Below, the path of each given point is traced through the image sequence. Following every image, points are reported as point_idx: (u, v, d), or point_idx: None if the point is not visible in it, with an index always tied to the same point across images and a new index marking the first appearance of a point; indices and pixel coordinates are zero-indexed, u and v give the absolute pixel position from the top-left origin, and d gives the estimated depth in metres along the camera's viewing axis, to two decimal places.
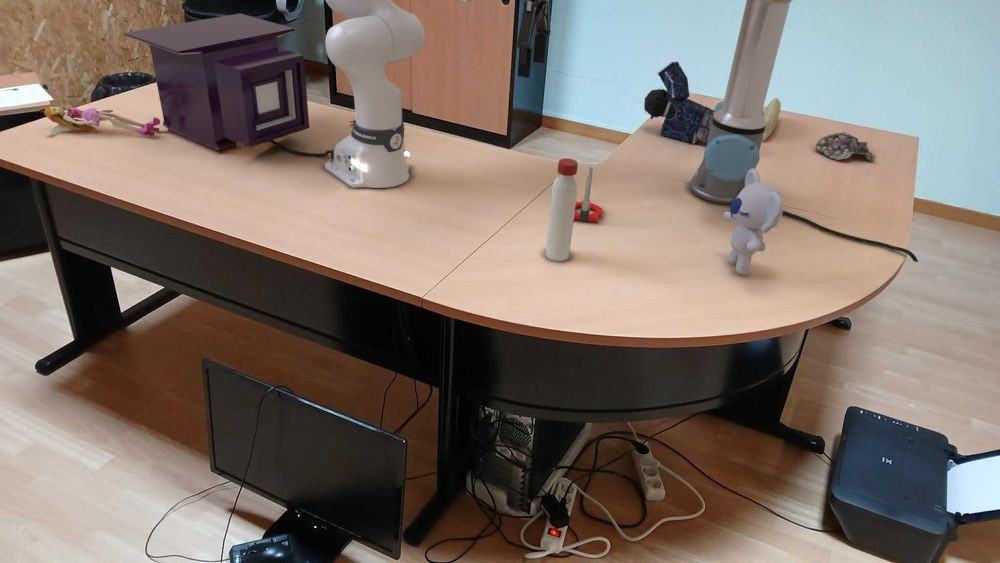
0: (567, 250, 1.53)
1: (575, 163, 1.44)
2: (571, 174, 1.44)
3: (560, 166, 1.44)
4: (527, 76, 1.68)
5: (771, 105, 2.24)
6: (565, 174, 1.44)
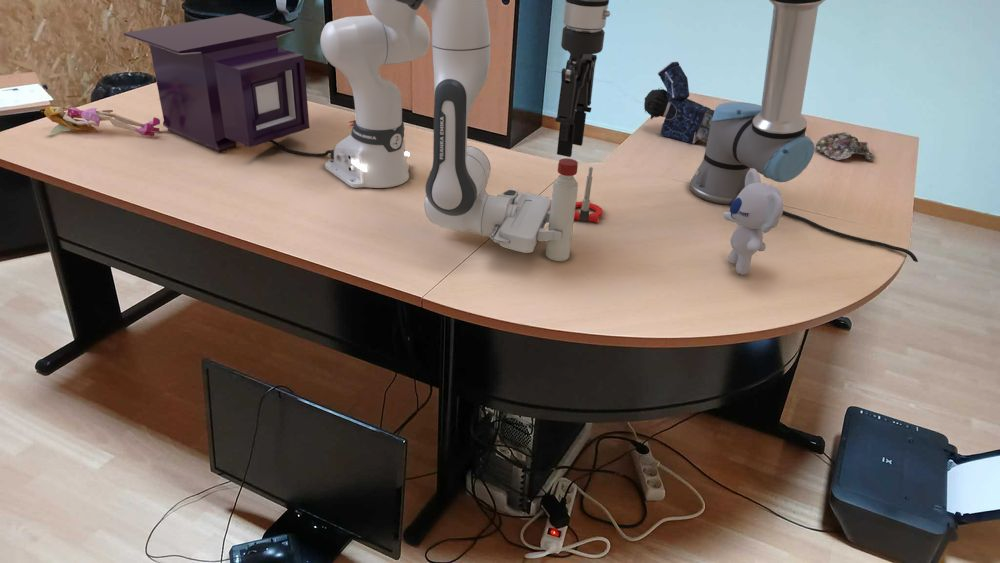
0: (567, 250, 1.53)
1: (575, 163, 1.44)
2: (571, 174, 1.44)
3: (560, 166, 1.44)
4: None
5: None
6: (565, 174, 1.44)
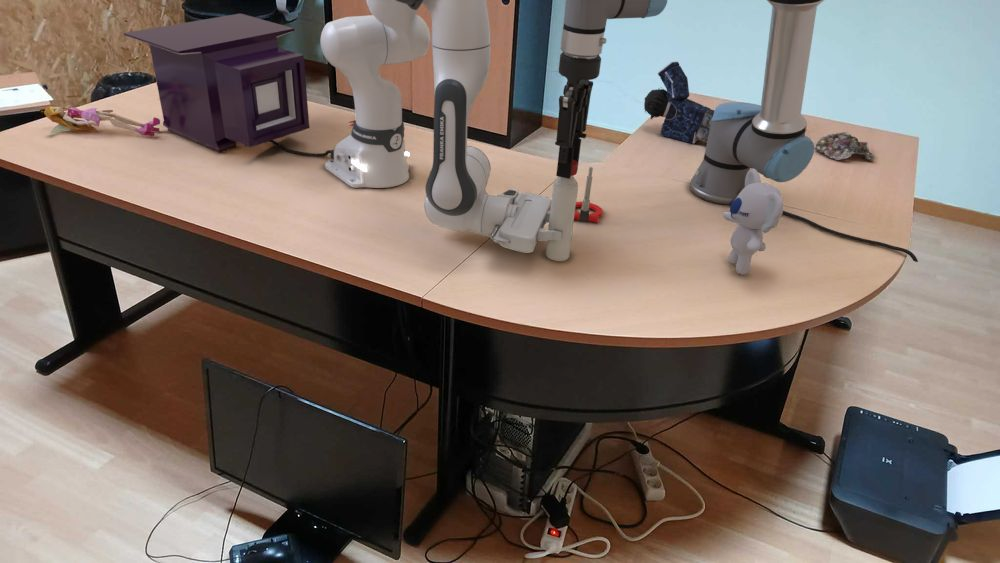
0: (567, 250, 1.53)
1: (575, 163, 1.44)
2: (571, 174, 1.44)
3: None
4: None
5: None
6: None
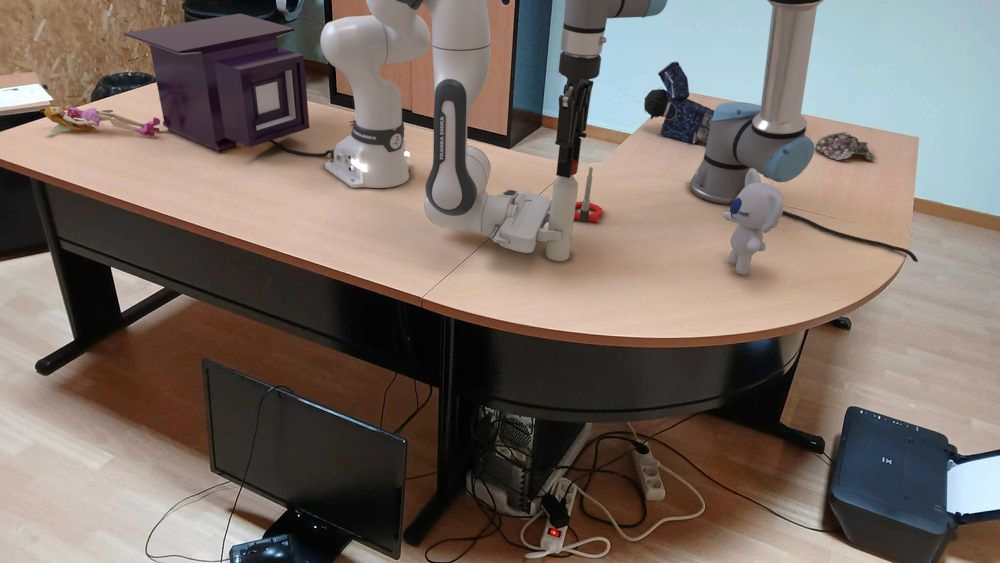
0: (567, 250, 1.53)
1: None
2: None
3: (577, 166, 1.44)
4: None
5: None
6: None
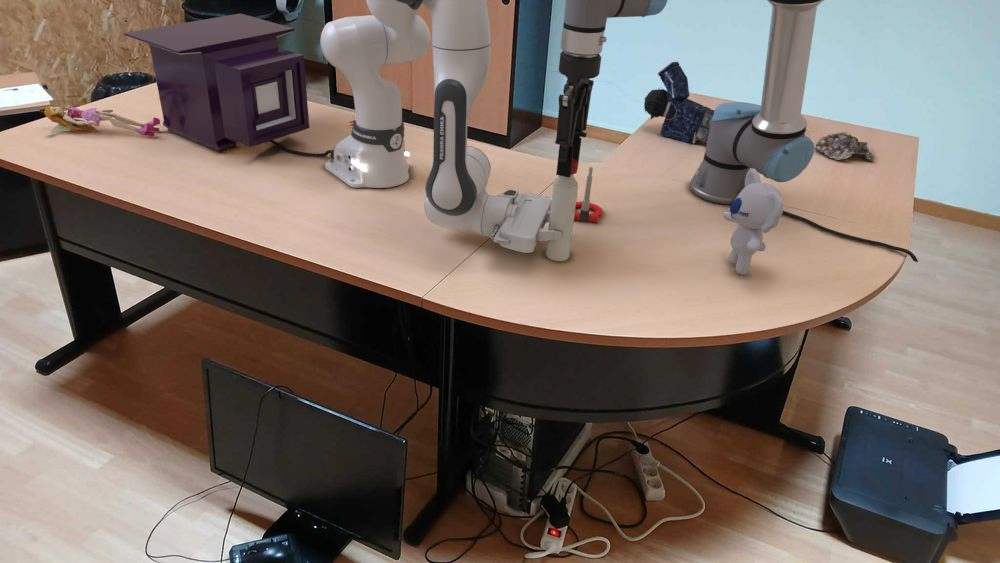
0: (567, 250, 1.53)
1: None
2: None
3: None
4: None
5: None
6: None
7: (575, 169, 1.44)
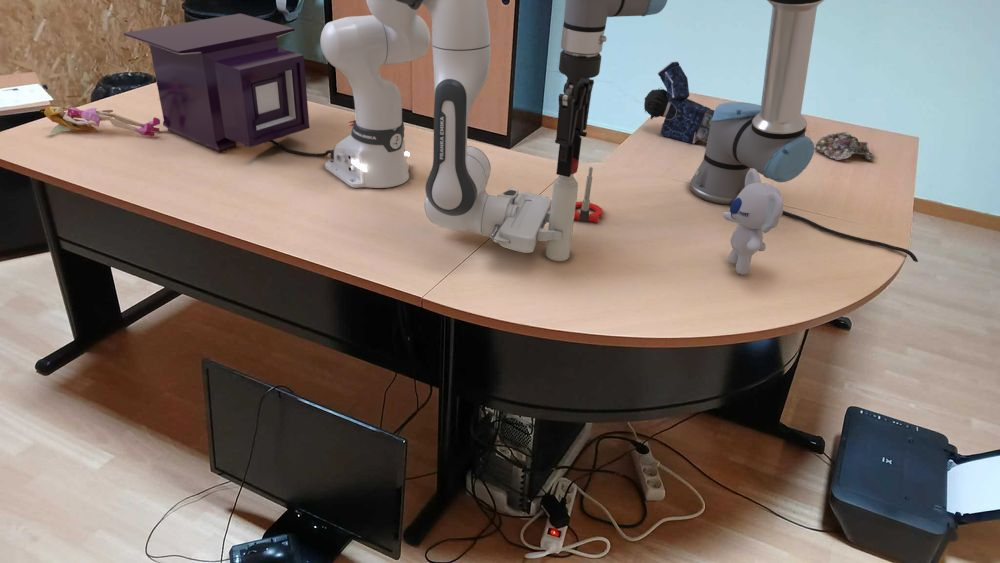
0: (567, 250, 1.53)
1: (576, 161, 1.44)
2: (573, 172, 1.44)
3: None
4: None
5: None
6: None
7: None
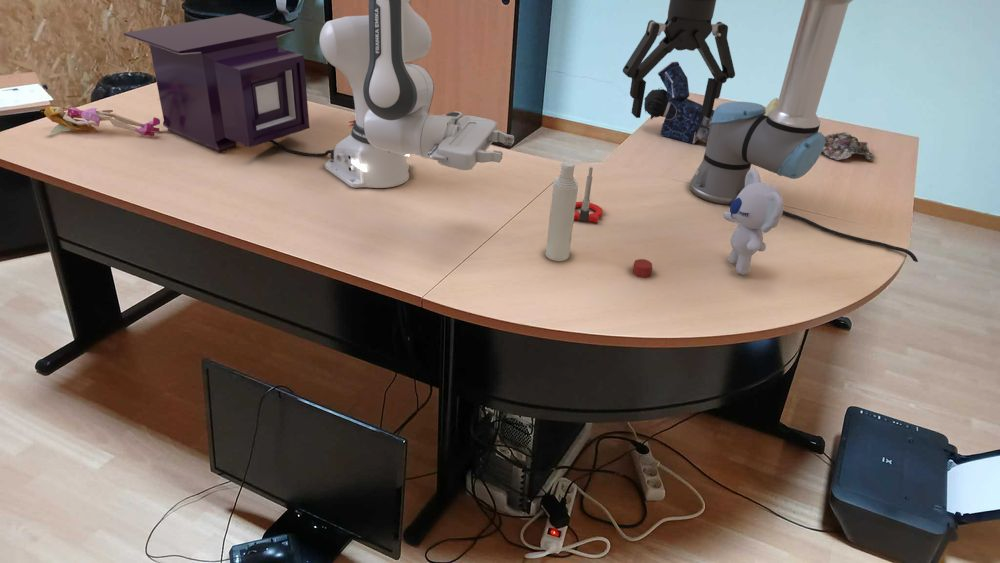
0: (567, 250, 1.53)
1: (639, 260, 1.52)
2: None
3: (651, 267, 1.51)
4: (635, 115, 1.32)
5: (771, 105, 2.24)
6: None
7: (635, 270, 1.50)
